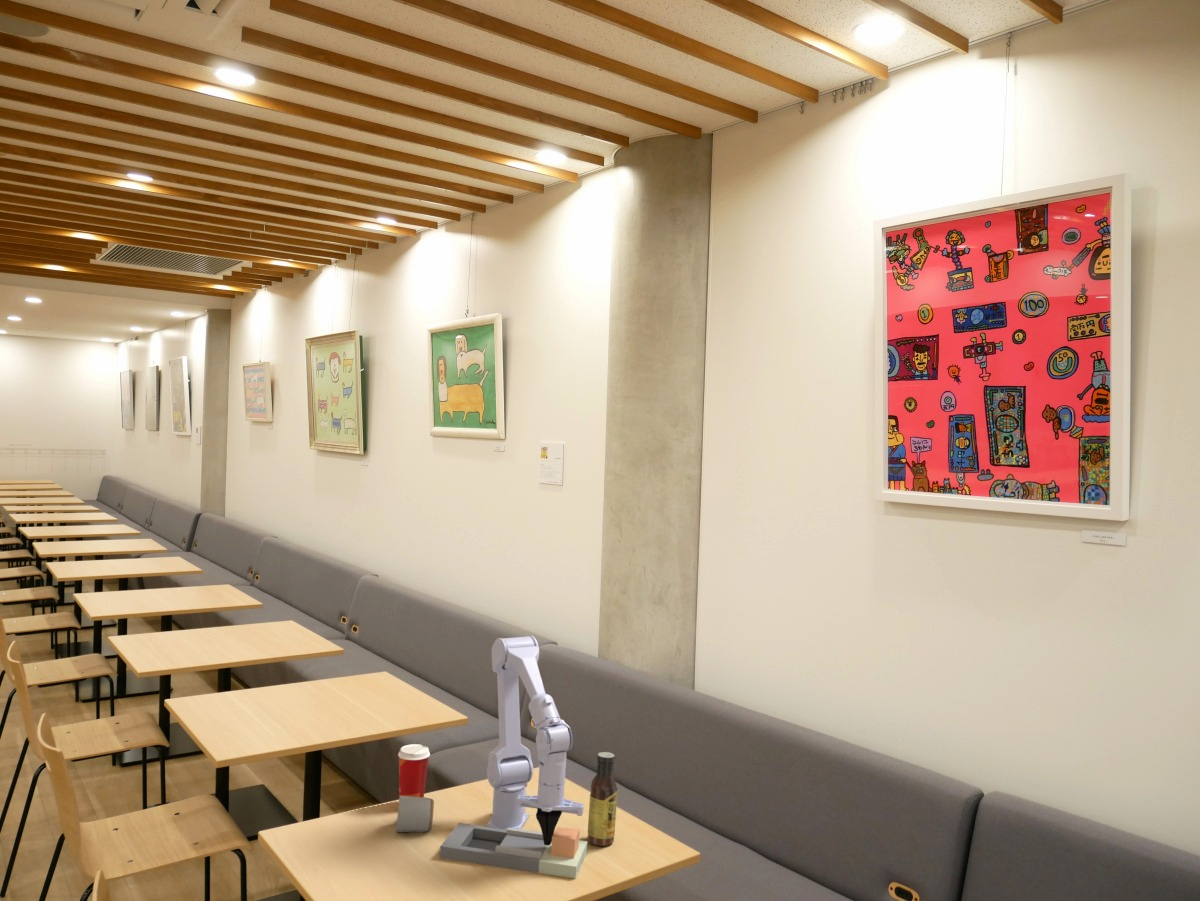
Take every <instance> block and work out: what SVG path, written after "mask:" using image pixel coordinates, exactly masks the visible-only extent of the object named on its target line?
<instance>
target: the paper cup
mask: <svg viewBox="0 0 1200 901" xmlns="http://www.w3.org/2000/svg"><path fill="white" fill-rule="evenodd" d="M429 749H430V748H429V747H428V746H425V745H422V744H418V743H417V744H416V743H413V744H412V743H411V744H406V745H403V746H401V747H400V748H399V752H398V754H397V756H398V757H399V758H398V759H399V760H398V761H399V764H398V765H399V768H398V770H399V772H398V773H399V774H398V777H399V780H398V783H399V784H398V793H399V795H398V798H399V797H400V796H410V797H425V789H426V783H427V774H428V765H429V757H430V756H431V753H430V750H429Z"/></svg>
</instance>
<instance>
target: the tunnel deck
mask: <svg viewBox="0 0 1200 901" xmlns="http://www.w3.org/2000/svg"><path fill="white" fill-rule="evenodd" d="M551 849H552V842H551V844H550V845H544V840H543V834H542V831H537V830H529V829H523V828H521V829H516V828H508V829H507V830H505V829H498V828H492V827H486V826H483V825H477V824H471V823H462V822H459V823H457V825H456V826H455V828H454V829H453V830H452V831H451V832H450V834H449V835H448V836H447V837H446V838H445V840H444V841H443V842H442V844H441V845H440V848H439V850H440V851H439V858H440V859H446V860H452V861H457V862H458V861H459V862H465V863H473V864H479V865H486V866H490V867H499V868H503V869H505V868H506V869H511V870H517V871H523V872H531V873H537V874H544V875H551V876H556V877H563V878H569V879H577V877H578V873H579V871H580V869H581V866H582V865H583V862H584V860H585V858H586V856H587V853H588V841H587V840H582V839H581V840H580V839H579V848H578V850H577V853H576V855H575V857H574V858H569V857H562V856H555V855H551Z"/></svg>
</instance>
